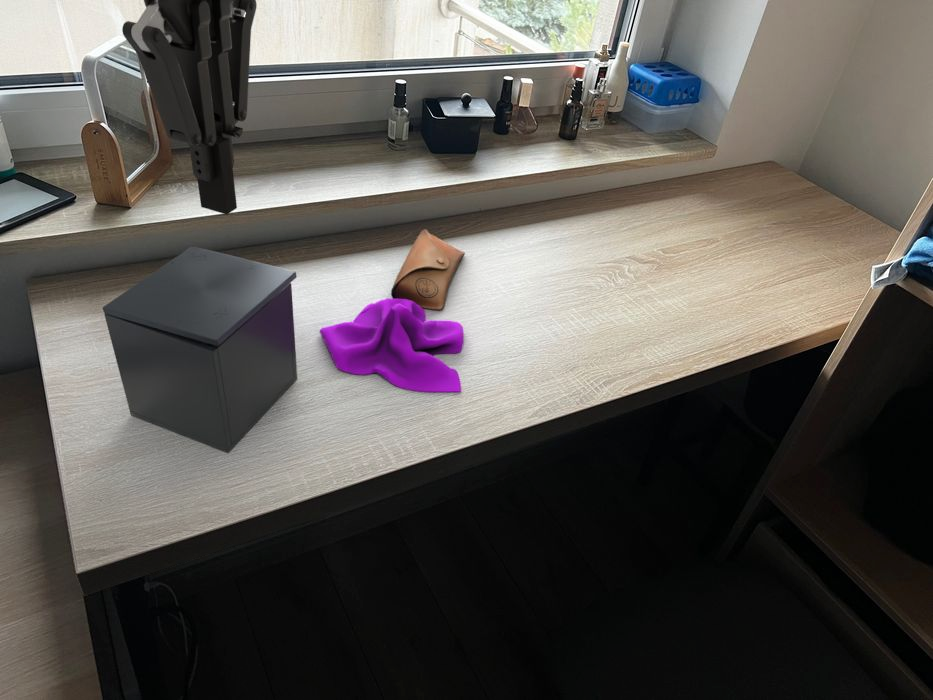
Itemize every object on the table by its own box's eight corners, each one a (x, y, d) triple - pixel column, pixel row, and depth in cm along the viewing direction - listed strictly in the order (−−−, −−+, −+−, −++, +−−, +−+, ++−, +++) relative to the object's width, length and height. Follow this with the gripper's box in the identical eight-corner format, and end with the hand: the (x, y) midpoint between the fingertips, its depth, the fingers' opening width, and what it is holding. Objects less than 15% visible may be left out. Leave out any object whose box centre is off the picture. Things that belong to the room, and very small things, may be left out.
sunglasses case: (446, 309, 107) (426, 273, 104) (405, 322, 110) (384, 286, 107) (466, 250, 122) (449, 217, 118) (430, 263, 124) (412, 230, 121)
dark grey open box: (297, 379, 93) (291, 283, 84) (228, 453, 82) (212, 352, 73) (208, 347, 96) (193, 251, 87) (130, 415, 85) (103, 313, 76)
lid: (296, 277, 83) (296, 271, 83) (218, 346, 72) (216, 340, 72) (193, 251, 87) (192, 245, 87) (103, 313, 76) (101, 307, 76)
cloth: (296, 350, 98) (294, 313, 94) (377, 290, 111) (378, 255, 107) (436, 417, 90) (440, 380, 86) (505, 344, 103) (510, 309, 99)
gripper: (161, -80, 44) (208, 251, 59) (279, -98, 54) (294, 190, 69) (64, -99, 46) (133, 227, 61) (195, -113, 56) (228, 171, 71)
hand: (219, 207), depth 65 cm, fingers closed
